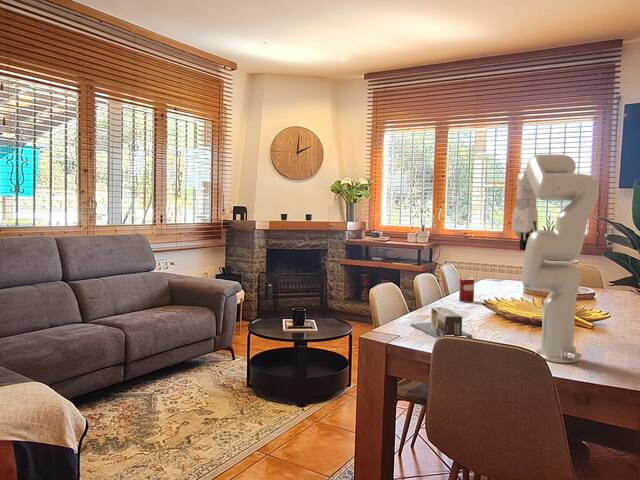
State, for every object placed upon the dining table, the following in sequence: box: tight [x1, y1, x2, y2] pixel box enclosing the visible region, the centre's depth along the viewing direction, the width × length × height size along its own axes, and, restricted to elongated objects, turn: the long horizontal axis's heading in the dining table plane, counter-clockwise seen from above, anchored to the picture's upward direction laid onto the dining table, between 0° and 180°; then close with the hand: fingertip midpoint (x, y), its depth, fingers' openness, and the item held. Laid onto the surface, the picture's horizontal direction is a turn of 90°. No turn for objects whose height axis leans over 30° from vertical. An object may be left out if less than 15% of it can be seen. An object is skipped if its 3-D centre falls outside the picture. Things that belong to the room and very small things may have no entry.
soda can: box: [458, 277, 475, 304], centre depth 258 cm, size 7×7×12 cm
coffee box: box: [430, 306, 463, 337], centre depth 186 cm, size 9×6×16 cm
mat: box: [410, 322, 473, 339], centre depth 196 cm, size 22×14×1 cm, turn 18°
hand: (524, 250), depth 199 cm, fingers closed
